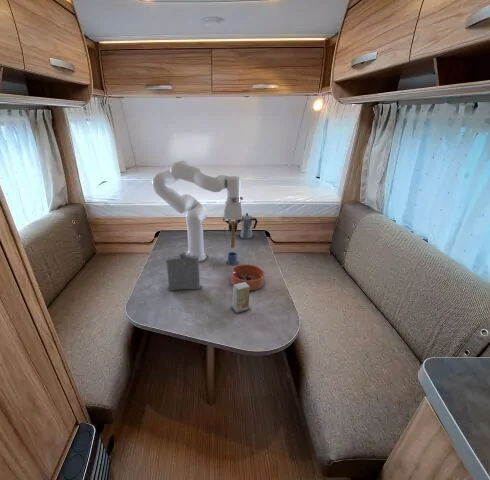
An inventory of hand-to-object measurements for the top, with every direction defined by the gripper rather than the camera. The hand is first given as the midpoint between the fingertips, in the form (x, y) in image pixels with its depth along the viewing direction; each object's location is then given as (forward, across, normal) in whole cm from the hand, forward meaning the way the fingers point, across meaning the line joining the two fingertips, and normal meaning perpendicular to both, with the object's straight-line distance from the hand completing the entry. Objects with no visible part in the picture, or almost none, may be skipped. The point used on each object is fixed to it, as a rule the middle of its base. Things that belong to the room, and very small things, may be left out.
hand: (232, 230), depth 153 cm
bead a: (+19, -3, +21) cm, 28 cm away
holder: (+21, 0, 0) cm, 21 cm away
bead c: (+19, -6, +21) cm, 29 cm away
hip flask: (+21, +27, +26) cm, 43 cm away
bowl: (+21, -6, +22) cm, 31 cm away
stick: (+10, 0, 0) cm, 10 cm away
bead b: (+19, -4, +24) cm, 31 cm away
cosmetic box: (+21, 0, +44) cm, 49 cm away
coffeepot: (+21, -15, -41) cm, 49 cm away
